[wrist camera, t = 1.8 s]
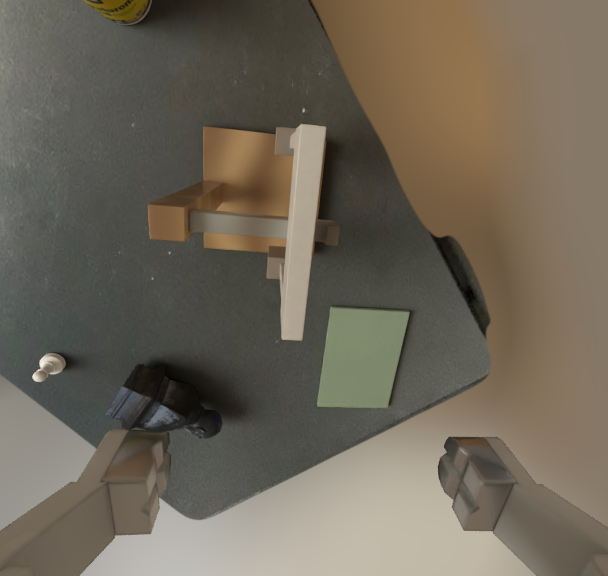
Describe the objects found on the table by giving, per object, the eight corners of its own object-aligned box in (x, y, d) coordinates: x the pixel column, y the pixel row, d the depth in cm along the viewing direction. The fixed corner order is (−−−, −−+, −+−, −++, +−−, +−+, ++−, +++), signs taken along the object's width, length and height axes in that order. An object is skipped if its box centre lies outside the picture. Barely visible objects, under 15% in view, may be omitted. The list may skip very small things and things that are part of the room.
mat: (408, 310, 43) (410, 312, 43) (386, 405, 49) (387, 408, 48) (330, 305, 42) (331, 307, 42) (316, 403, 48) (317, 406, 47)
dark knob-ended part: (212, 429, 48) (203, 469, 42) (120, 389, 44) (96, 426, 38) (236, 396, 46) (230, 433, 40) (143, 352, 42) (121, 385, 36)
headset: (312, 133, 30) (349, 117, 16) (299, 266, 35) (318, 349, 20) (276, 129, 30) (279, 108, 15) (267, 264, 34) (263, 346, 20)
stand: (325, 140, 35) (372, 130, 19) (312, 253, 40) (341, 326, 23) (205, 126, 34) (140, 102, 17) (205, 245, 38) (154, 317, 21)
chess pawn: (51, 373, 42) (33, 391, 39) (38, 356, 41) (19, 373, 38) (70, 366, 42) (53, 384, 39) (58, 349, 41) (40, 366, 38)
